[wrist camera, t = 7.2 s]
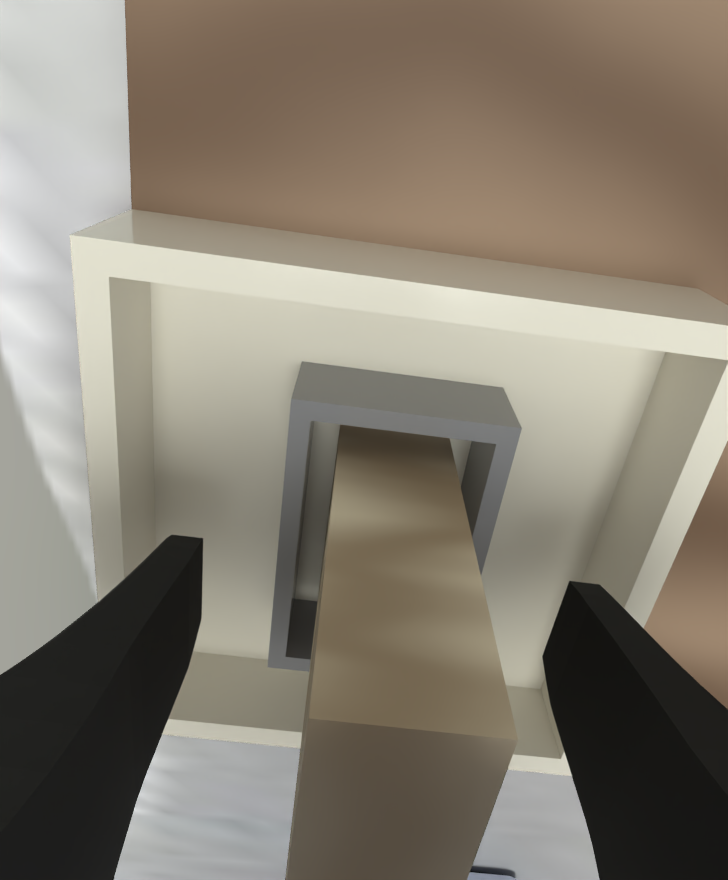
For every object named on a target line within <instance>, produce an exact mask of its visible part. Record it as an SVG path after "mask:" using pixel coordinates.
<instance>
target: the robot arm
mask: <svg viewBox="0 0 728 880" xmlns="http://www.w3.org/2000/svg"><path fill="white" fill-rule="evenodd" d="M202 576H203V538H197V537H189V536H180V535H170V536H169V537H167V538H166V539H165V540H164V541H163V542H162V543H161V544H160V545H159V546H158V547H157V548H156V549H155V550H154V551H153V552H152V553H151V554H150V555H149V556H148V557H147V558H146V559H145V560H144V561H143V562H142V563H141V564H139V565H138V566H137V567H136V568H135V569H134V570H133V571H132V572H131V573H130V574H129V575H128V576H127V577H126V578H125V579H124V580H122V581H121V582H120V583H119V584H118V585H117V586H116V587H115V588H113V589H112V590H111V591H110V592H109V593H108V594H107V595H106V596H104V597H103V598H102V599H101V600H100V601H99V602H98V603H97V604H95V605H94V606H93V607H92V608H91V609H89V610H88V611H87V612H86V613H84V614H83V615H82V616H81V617H80V618H78V619H77V620H76V621H74V622H73V623H72V624H71V625H69V626H68V627H67V628H66V629H65V630H63V631H62V632H61V633H59V634H58V635H57V636H56V637H54V638H53V639H52V640H50V641H49V642H48V643H46V644H45V645H43V646H42V647H41V648H39V649H38V650H36V651H35V652H34V653H32V654H31V655H29V656H28V657H26V658H25V659H24V660H22V661H21V662H19V663H18V664H16V665H15V666H13V667H12V668H10V669H9V670H7V671H6V672H4V673H3V674H1V675H0V880H113V879H114V875H115V872H116V868H117V865H118V861H119V858H120V854H121V851H122V848H123V844H124V841H125V837H126V834H127V831H128V827H129V824H130V821H131V817H132V814H133V811H134V807H135V804H136V801H137V798H138V795H139V792H140V789H141V787H142V784H143V781H144V778H145V775H146V773H147V770H148V768H149V765H150V763H151V760H152V758H153V755H154V753H155V750H156V748H157V745H158V743H159V740H160V738H161V736H162V733H163V731H164V728H165V726H166V723H167V721H168V718H169V716H170V713H171V711H172V708H173V706H174V703H175V701H176V698H177V695H178V693H179V690H180V688H181V685H182V683H183V680H184V678H185V675H186V673H187V670H188V667H189V664H190V660H191V657H192V653H193V649H194V646H195V642H196V638H197V634H198V630H199V627H200V623H201V619H202ZM542 658H543V665H544V671H545V678H546V684H547V689H548V695H549V700H550V705H551V709H552V712H553V716H554V719H555V722H556V726H557V729H558V732H559V736H560V739H561V742H562V746H563V749H564V752H565V755H566V758H567V762H568V765H569V768H570V771H571V774H572V778H573V781H574V784H575V787H576V790H577V794H578V797H579V800H580V803H581V806H582V810H583V813H584V816H585V819H586V823H587V827H588V830H589V834H590V838H591V841H592V845H593V850H594V854H595V859H596V864H597V869H598V873H599V878H600V880H728V709H727V708H726V707H725V706H724V705H722V704H721V703H720V702H719V701H718V700H717V699H716V698H715V697H714V696H712V695H711V694H710V693H709V692H708V691H707V690H706V689H705V688H704V687H703V686H701V685H700V684H699V683H698V682H697V681H696V680H695V679H694V678H693V677H692V676H691V675H690V674H689V673H688V672H687V671H686V670H685V669H683V668H682V667H681V666H680V665H679V664H678V663H677V662H676V661H675V660H674V659H673V658H672V657H671V656H670V655H669V654H668V653H667V652H666V651H665V650H664V649H663V648H662V647H661V646H660V645H659V644H658V643H657V642H656V641H655V640H654V639H653V638H652V637H651V636H650V635H649V634H648V633H647V632H646V630H645V629H644V628H643V627H642V626H641V625H640V624H639V623H638V622H637V621H636V620H635V619H634V618H633V617H632V616H631V615H630V614H629V613H628V612H627V611H626V610H625V609H624V608H623V607H622V606H621V605H620V604H619V603H618V602H617V601H616V600H615V599H614V598H613V597H612V596H611V595H610V594H609V593H608V592H607V591H606V590H605V589H604V588H603V587H602V586H601V585H600V584H592V583H584V582H575V581H569V583H568V586H567V589H566V591H565V594H564V597H563V600H562V603H561V605H560V608H559V611H558V614H557V616H556V619H555V622H554V625H553V628H552V630H551V633H550V636H549V639H548V641H547V644H546V647H545V650H544V653H543V655H542ZM467 880H516V879H515V878H513V877H511V876H506V875H495V874H484V873H474V872H470V873H469V876H468V878H467Z"/></svg>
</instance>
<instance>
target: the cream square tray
mask: <svg viewBox="0 0 728 880" xmlns="http://www.w3.org/2000/svg"><path fill="white" fill-rule="evenodd" d="M70 245H71V258H72V271H73V284H74V297H75V311H76V324H77V337H78V350H79V363H80V376H81V389H82V402H83V415H84V428H85V441H86V454H87V467H88V480H89V493H90V506H91V519H92V532H93V545H94V558H95V571H96V584H97V597H98V602H99V601H100V600H101V599H102V598H103V597H104V596H106V595H107V594H108V593H109V592H110V591H111V590H112V589H113V588H115V587H116V586H117V585H118V584H119V583H120V582H121V581H122V580H124V579H125V578H126V577H127V576H128V575H129V574H130V573H131V572H132V571H133V570H134V569H135V568H136V567H137V566H138V565H139V564H141V563H142V562H143V561H144V560H145V559H146V558H147V557H148V556H149V555H150V554H151V553H152V552H153V551H154V550H155V549H156V548H157V547H158V546H159V545H160V544H161V543H162V542H163V541H164V540H165V539H166V538H167V537H169V536H170V535H180V536H189V537H197V538H203V576H202V619H201V623H200V627H199V630H198V634H197V638H196V642H195V646H194V649H193V653H192V657H191V660H190V664H189V667H188V670H187V673H186V675H185V678H184V680H183V683H182V685H181V688H180V690H179V693H178V695H177V698H176V701H175V703H174V706H173V708H172V711H171V713H170V716H169V718H168V721H167V723H166V726H165V728H164V731H163V733H162V735H172V736H181V737H191V738H201V739H211V740H221V741H231V742H241V743H250V744H260V745H270V746H280V747H290V748H301V739H302V731H303V722H304V713H305V705H306V696H307V687H308V679H309V670H310V662H311V653H312V644H313V636H314V627H315V618H316V610H317V601H318V592H319V584H320V577H321V569H322V561H323V553H324V546H325V538H326V530H327V523H328V515H329V507H330V499H331V492H332V484H333V476H334V469H335V461H336V453H337V445H338V438H339V430H340V424H341V425H349V426H356V427H364V428H372V429H380V430H388V431H396V432H404V433H412V434H420V435H428V436H436V437H444V438H450V442H451V447H452V451H453V456H454V460H455V464H456V469H457V473H458V478H459V482H460V486H461V491H462V495H463V500H464V504H465V508H466V513H467V517H468V522H469V526H470V530H471V535H472V539H473V544H474V548H475V552H476V557H477V561H478V566H479V570H480V574H481V579H482V583H483V588H484V592H485V596H486V601H487V605H488V610H489V614H490V618H491V623H492V627H493V632H494V636H495V640H496V645H497V649H498V654H499V658H500V662H501V667H502V671H503V675H504V680H505V684H506V689H507V693H508V697H509V702H510V706H511V711H512V715H513V719H514V724H515V728H516V733H517V737H518V742H517V745H516V747H515V750H514V753H513V756H512V758H511V761H510V764H509V766H508V769H507V770H517V771H527V772H536V773H546V774H556V775H566V776H572V774H571V771H570V768H569V765H568V762H567V758H566V755H565V752H564V749H563V746H562V742H561V739H560V736H559V732H558V729H557V726H556V722H555V719H554V716H553V712H552V709H551V705H550V700H549V695H548V689H547V684H546V678H545V671H544V665H543V658H542V655H543V653H544V650H545V647H546V644H547V641H548V639H549V636H550V633H551V630H552V628H553V625H554V622H555V619H556V616H557V614H558V611H559V608H560V605H561V603H562V600H563V597H564V594H565V591H566V589H567V586H568V583H569V581H575V582H584V583H592V584H600V585H601V586H602V587H603V588H604V589H605V590H606V591H607V592H608V593H609V594H610V595H611V596H612V597H613V598H614V599H615V600H616V601H617V602H618V603H619V604H620V605H621V606H622V607H623V608H624V609H625V610H626V611H627V612H628V613H629V614H630V615H631V616H632V617H633V618H634V619H635V620H636V621H637V622H638V623H639V624H640V625H641V626H642V627H643V628H644V626H645V624H646V622H647V620H648V617H649V615H650V613H651V611H652V608H653V606H654V604H655V602H656V600H657V597H658V595H659V593H660V591H661V588H662V586H663V584H664V582H665V579H666V577H667V575H668V573H669V571H670V568H671V566H672V564H673V562H674V559H675V557H676V555H677V553H678V550H679V548H680V546H681V544H682V541H683V539H684V537H685V535H686V533H687V530H688V528H689V526H690V524H691V521H692V519H693V517H694V515H695V512H696V510H697V508H698V506H699V504H700V501H701V499H702V497H703V495H704V492H705V490H706V488H707V486H708V483H709V481H710V479H711V477H712V474H713V472H714V470H715V468H716V466H717V463H718V461H719V459H720V457H721V454H722V452H723V450H724V448H725V445H726V443H727V441H728V305H726V304H725V303H723V302H721V301H719V300H717V299H716V298H714V297H712V296H710V295H708V294H707V293H705V292H703V291H701V290H699V289H697V288H690V287H683V286H676V285H669V284H661V283H654V282H647V281H640V280H633V279H626V278H619V277H612V276H604V275H597V274H590V273H583V272H576V271H569V270H562V269H555V268H547V267H540V266H533V265H526V264H519V263H512V262H505V261H498V260H490V259H483V258H476V257H469V256H462V255H455V254H448V253H441V252H434V251H426V250H419V249H412V248H405V247H398V246H391V245H384V244H377V243H369V242H362V241H355V240H348V239H341V238H334V237H327V236H320V235H312V234H305V233H298V232H291V231H284V230H277V229H270V228H263V227H256V226H248V225H241V224H234V223H227V222H220V221H213V220H206V219H199V218H191V217H184V216H177V215H170V214H163V213H156V212H149V211H142V210H134V209H131V210H128V211H126V212H124V213H121V214H119V215H116V216H114V217H112V218H109V219H107V220H104V221H102V222H99V223H97V224H95V225H92V226H90V227H87V228H85V229H83V230H80V231H78V232H75V233H73V234H71V235H70Z"/></svg>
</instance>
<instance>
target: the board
mask: <svg viewBox="0 0 728 880" xmlns="http://www.w3.org/2000/svg"><path fill="white" fill-rule="evenodd" d="M125 18H126V49H127V79H128V110H129V140H130V171H131V202H132V209H134V210H142V211H149V212H156V213H163V214H170V215H177V216H184V217H191V218H199V219H206V220H213V221H220V222H227V223H234V224H241V225H248V226H256V227H263V228H270V229H277V230H284V231H291V232H298V233H305V234H312V235H320V236H327V237H334V238H341V239H348V240H355V241H362V242H369V243H377V244H384V245H391V246H398V247H405V248H412V249H419V250H426V251H434V252H441V253H448V254H455V255H462V256H469V257H476V258H483V259H490V260H498V261H505V262H512V263H519V264H526V265H533V266H540V267H547V268H555V269H562V270H569V271H576V272H583V273H590V274H597V275H604V276H612V277H619V278H626V279H633V280H640V281H647V282H654V283H661V284H669V285H676V286H683V287H690V288H697V289H699V290H701V291H703V292H705V293H707V294H708V295H710V296H712V297H714V298H716V299H717V300H719V301H721V302H723V303H725V304H726V305H728V0H125ZM644 629H645V630H646V632H647V633H648V634H649V635H650V636H651V637H652V638H653V639H654V640H655V641H656V642H657V643H658V644H659V645H660V646H661V647H662V648H663V649H664V650H665V651H666V652H667V653H668V654H669V655H670V656H671V657H672V658H673V659H674V660H675V661H676V662H677V663H678V664H679V665H680V666H681V667H682V668H683V669H685V670H686V671H687V672H688V673H689V674H690V675H691V676H692V677H693V678H694V679H695V680H696V681H697V682H698V683H699V684H700V685H701V686H703V687H704V688H705V689H706V690H707V691H708V692H709V693H710V694H711V695H712V696H714V697H715V698H716V699H717V700H718V701H719V702H720V703H721V704H722V705H724V706H725V707H726V708H727V709H728V441H727V443H726V445H725V448H724V450H723V452H722V454H721V457H720V459H719V461H718V463H717V466H716V468H715V470H714V472H713V474H712V477H711V479H710V481H709V483H708V486H707V488H706V490H705V492H704V495H703V497H702V499H701V501H700V504H699V506H698V508H697V510H696V512H695V515H694V517H693V519H692V521H691V524H690V526H689V528H688V530H687V533H686V535H685V537H684V539H683V541H682V544H681V546H680V548H679V550H678V553H677V555H676V557H675V559H674V562H673V564H672V566H671V568H670V571H669V573H668V575H667V577H666V579H665V582H664V584H663V586H662V588H661V591H660V593H659V595H658V597H657V600H656V602H655V604H654V606H653V608H652V611H651V613H650V615H649V617H648V620H647V622H646V624H645V626H644Z"/></svg>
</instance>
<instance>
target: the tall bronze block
mask: <svg viewBox="0 0 728 880" xmlns="http://www.w3.org/2000/svg"><path fill="white" fill-rule="evenodd" d="M517 742H518V737H517V733H516V728H515V724H514V719H513V715H512V711H511V706H510V702H509V697H508V693H507V689H506V684H505V680H504V675H503V671H502V667H501V662H500V658H499V654H498V649H497V645H496V640H495V636H494V632H493V627H492V623H491V618H490V614H489V610H488V605H487V601H486V596H485V592H484V588H483V583H482V579H481V574H480V570H479V566H478V561H477V557H476V552H475V548H474V544H473V539H472V535H471V530H470V526H469V522H468V517H467V513H466V508H465V504H464V500H463V495H462V491H461V486H460V482H459V478H458V473H457V469H456V464H455V460H454V456H453V451H452V447H451V442H450V438H444V437H436V436H428V435H420V434H412V433H404V432H396V431H388V430H380V429H372V428H364V427H356V426H349V425H341V424H340V430H339V438H338V445H337V453H336V461H335V469H334V476H333V484H332V492H331V499H330V507H329V515H328V523H327V530H326V538H325V546H324V553H323V561H322V569H321V577H320V584H319V592H318V601H317V610H316V618H315V627H314V636H313V644H312V653H311V662H310V670H309V679H308V687H307V696H306V705H305V713H304V722H303V731H302V739H301V748H300V757H299V765H298V774H297V783H296V791H295V800H294V808H293V817H292V826H291V834H290V843H289V852H288V860H287V869H286V878H285V880H467V878H468V876H469V873H470V870H471V867H472V865H473V862H474V859H475V857H476V854H477V851H478V848H479V846H480V843H481V840H482V837H483V835H484V832H485V829H486V826H487V824H488V821H489V818H490V816H491V813H492V810H493V807H494V805H495V802H496V799H497V796H498V794H499V791H500V788H501V786H502V783H503V780H504V777H505V775H506V772H507V769H508V766H509V764H510V761H511V758H512V756H513V753H514V750H515V747H516V745H517Z"/></svg>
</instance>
